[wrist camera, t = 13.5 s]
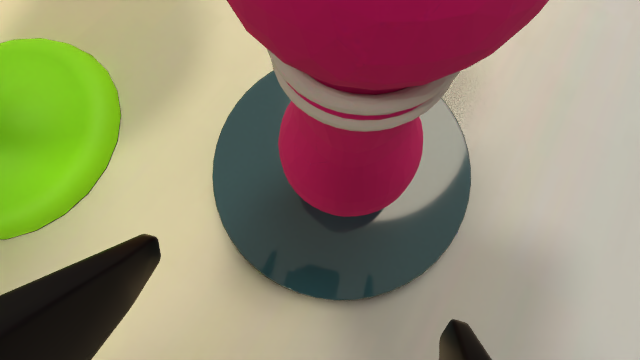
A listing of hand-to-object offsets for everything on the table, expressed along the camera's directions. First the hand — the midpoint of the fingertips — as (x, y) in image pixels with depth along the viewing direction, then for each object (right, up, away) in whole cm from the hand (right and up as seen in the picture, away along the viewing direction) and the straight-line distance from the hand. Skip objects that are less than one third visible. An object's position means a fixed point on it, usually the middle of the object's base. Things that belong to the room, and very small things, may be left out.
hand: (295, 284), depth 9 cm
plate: (+2, +4, +12) cm, 13 cm away
